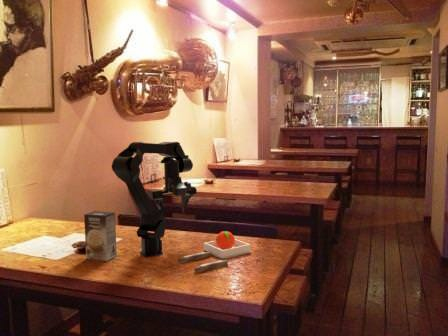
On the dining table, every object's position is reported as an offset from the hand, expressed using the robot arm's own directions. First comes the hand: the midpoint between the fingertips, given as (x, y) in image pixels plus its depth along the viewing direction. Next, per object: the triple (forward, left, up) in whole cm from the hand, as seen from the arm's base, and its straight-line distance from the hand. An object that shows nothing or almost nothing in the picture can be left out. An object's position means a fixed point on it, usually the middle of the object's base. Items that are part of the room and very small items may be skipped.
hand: (173, 214), depth 157 cm
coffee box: (-28, +1, -12) cm, 31 cm away
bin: (+11, -21, -12) cm, 26 cm away
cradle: (-3, -27, -12) cm, 29 cm away
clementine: (+10, -21, -12) cm, 26 cm away
